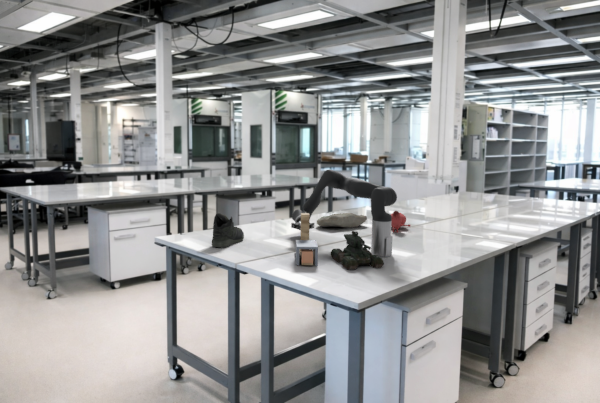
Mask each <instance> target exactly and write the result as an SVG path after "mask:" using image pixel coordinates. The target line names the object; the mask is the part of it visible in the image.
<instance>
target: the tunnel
mask: <svg viewBox="0 0 600 403" xmlns="http://www.w3.org/2000/svg"><path fill="white" fill-rule="evenodd" d="M300 249H313V265H314V266H315V267H317V266H318V264H319V246H318V242H317V240H315V239H313V240H312V239H311V240H310V239H309V240H301V239H295V253H296V258H295V263H296V264H295V265H296V266H297V265H298V266H300V258H299V253H300V252H299V251H300ZM298 266H297V267H298Z"/></svg>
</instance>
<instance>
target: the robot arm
mask: <svg viewBox="0 0 600 403" xmlns="http://www.w3.org/2000/svg"><path fill="white" fill-rule="evenodd" d="M327 187H328V188H332V189H335V190H336V189H337V190H342V191H345V192H346V193H347V194H349V195H351V196H353V197H357V198H361V199H370V212H371V216H372V217H371V218H372V220H371V221H372V222H371V242H370V244H371V245H370V247H371V249H370V252H371V254H372V255H377V256H379V257H381V258H387V257H390V256H393V255H392V254H393V236H392V226H391V221H392V216H391V213H388V212H386V207H390V206H392V205H394V204H395V203H396V202H397V198H398V196H397V192H396V191H395V189H393V188H392V187H390V186H383V185H378V184H375V183H372V182H369V181H367V180H364V179H361V178H357V177H349V176H346V175H344V174H343V173H340V171H339V172H338V171H335V170H332V169H326V170H325V171H324V172H323V173H322V175H321V177H320V178H319V180H318V182H317V184H316V186H315V187H314V189H313V191H312V192H311V194H310V195H309V197H308V199H306V201H304V204H303V205H302V210H301V209H299V208H297V209H295V210H294V211H293V212H292V213H291V214H292V215H291V219H292V221H294V222H291V224H290V225H291V226H290V227H291V229H296V230H299V231H301V213H309V214H310V218H309V221H311V217H312V215H313V213H314V212H315V211H316V209H317V208H318V207H319V206H320V204H321V202H322V201H321V200H322V194H323V191H324V190H325V189H326V188H327ZM312 229H315V222H312V223H311V222H309V230H312Z"/></svg>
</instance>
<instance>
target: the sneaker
mask: <svg viewBox="0 0 600 403" xmlns="http://www.w3.org/2000/svg"><path fill="white" fill-rule="evenodd" d="M234 224H235V223H234V222H233V217H232V216H230V218H229V217H228V216H227V215H225V214H222V213H215V216H214V218H213V226H212V229H213V230H212V239H211V246H212V247H213V248H221V249H222V248H228V247H229V246H231V245H234V244H237V243H240V241H241V242H243V240H244V238H245V233H244V231H243V229H242V228H240V227H238V226H234ZM227 246H228V247H227Z"/></svg>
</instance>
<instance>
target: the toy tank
mask: <svg viewBox="0 0 600 403" xmlns="http://www.w3.org/2000/svg"><path fill="white" fill-rule="evenodd" d="M343 237H344V239H345V241H346V246H345V248H343V250H342V249H340V248H339V247H338V248H332V250H331V251H330V257H331V258H332V259H333V260H335V262H337V263H341V265H342V266H343V268H345V269H347V270H349V271H352V270H353V271H354V270H356V269H358V267H359V266H370V267H372V268H375V269H381V268H383V267H384V265H385V261H384V260H383V257H379V256H377V255H372V254H371V246H369V245H367V244H365V240H364V239H363V238H362V236H360V235H359V232H358V231H354V230H352V231H351V233H350V234H349V233H348V234H347V233H345V234H343Z"/></svg>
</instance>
